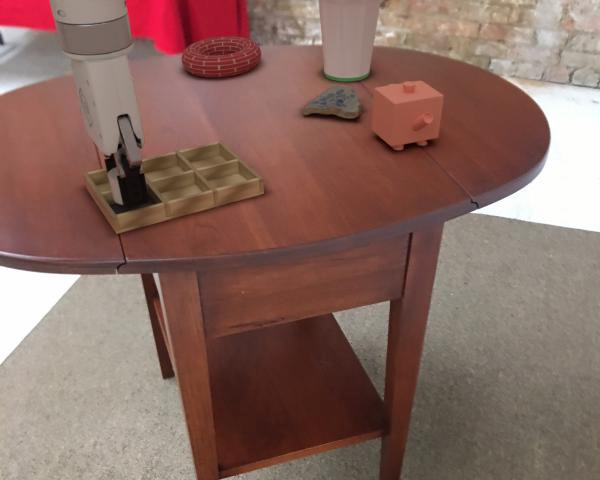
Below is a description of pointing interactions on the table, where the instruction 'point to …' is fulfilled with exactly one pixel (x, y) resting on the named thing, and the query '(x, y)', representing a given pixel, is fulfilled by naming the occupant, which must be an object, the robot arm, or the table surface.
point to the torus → (221, 56)
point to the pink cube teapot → (406, 113)
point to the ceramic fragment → (336, 103)
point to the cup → (348, 37)
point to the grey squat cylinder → (115, 185)
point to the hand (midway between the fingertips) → (129, 194)
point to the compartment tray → (179, 186)
